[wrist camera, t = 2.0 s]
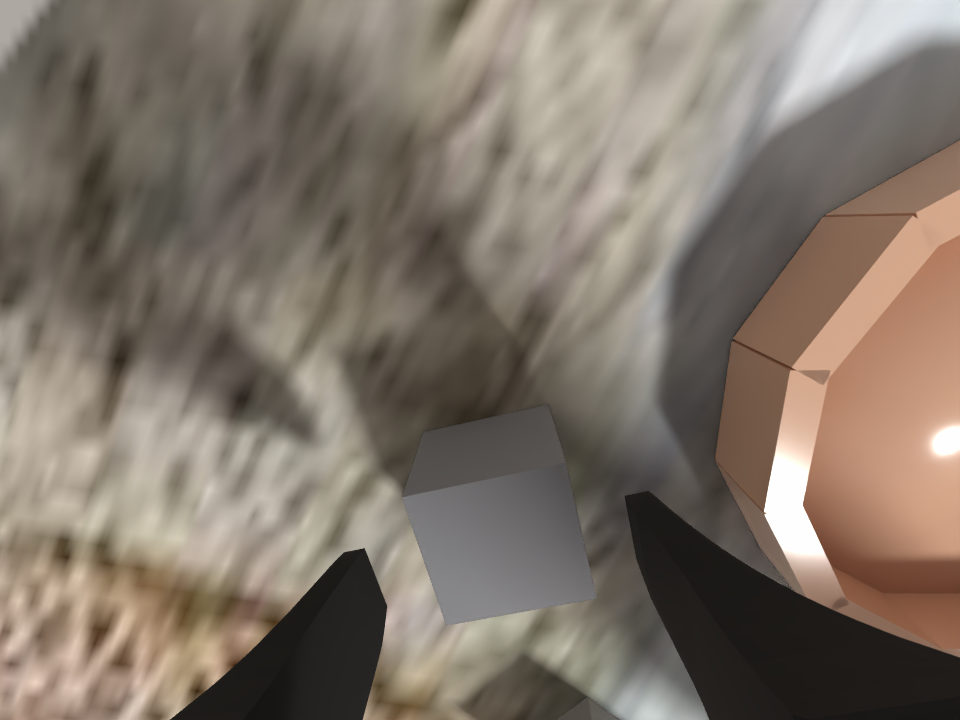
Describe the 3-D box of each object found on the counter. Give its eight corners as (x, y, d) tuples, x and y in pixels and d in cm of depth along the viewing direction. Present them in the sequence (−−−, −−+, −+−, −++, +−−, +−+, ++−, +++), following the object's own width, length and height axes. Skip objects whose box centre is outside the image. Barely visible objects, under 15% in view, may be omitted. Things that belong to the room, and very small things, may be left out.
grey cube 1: (547, 403, 15) (566, 462, 12) (573, 512, 17) (596, 598, 13) (423, 430, 16) (402, 497, 12) (457, 535, 17) (446, 625, 13)
